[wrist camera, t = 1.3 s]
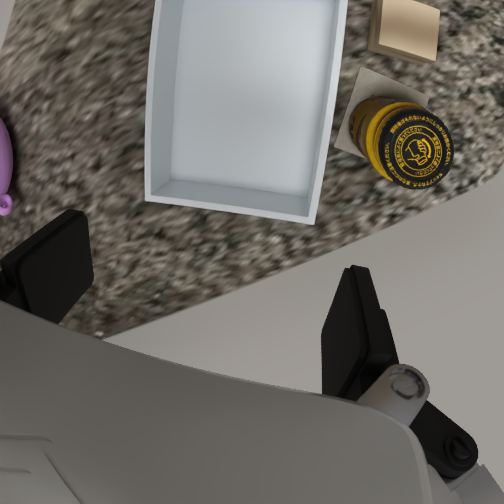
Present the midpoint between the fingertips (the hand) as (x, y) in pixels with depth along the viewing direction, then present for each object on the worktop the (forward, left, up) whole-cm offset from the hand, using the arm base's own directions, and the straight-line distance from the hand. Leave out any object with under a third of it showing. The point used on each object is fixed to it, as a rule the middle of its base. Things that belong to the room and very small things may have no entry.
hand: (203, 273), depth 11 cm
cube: (-14, +11, -22) cm, 28 cm away
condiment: (-5, +11, -23) cm, 25 cm away
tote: (-6, -2, -22) cm, 23 cm away
